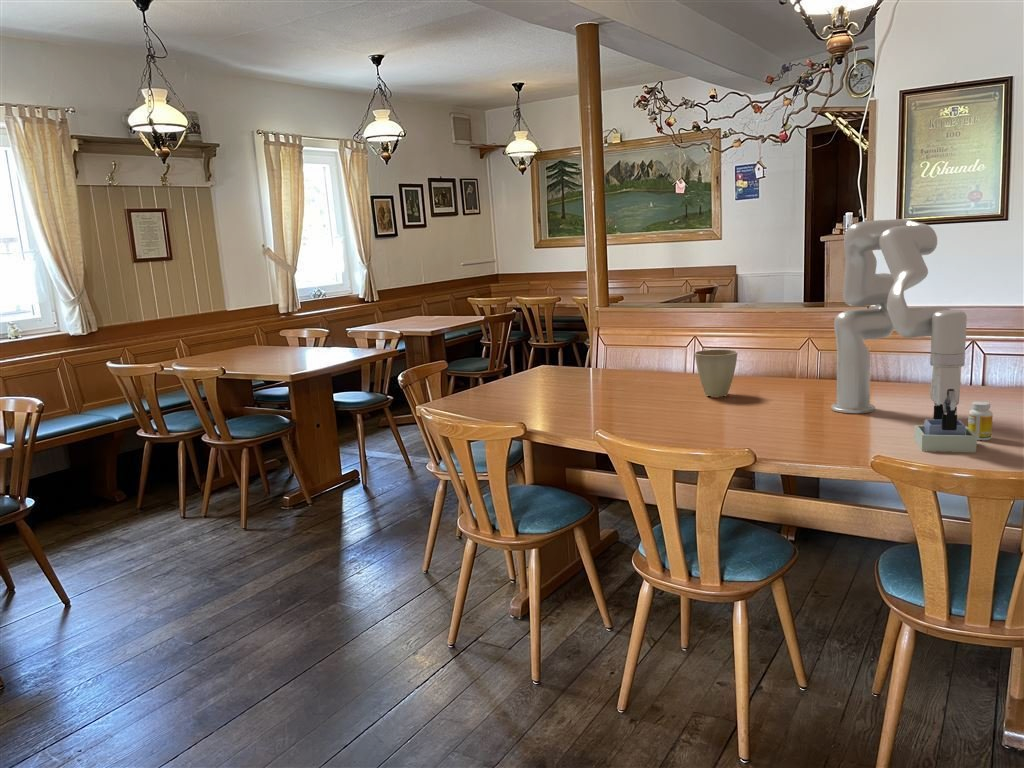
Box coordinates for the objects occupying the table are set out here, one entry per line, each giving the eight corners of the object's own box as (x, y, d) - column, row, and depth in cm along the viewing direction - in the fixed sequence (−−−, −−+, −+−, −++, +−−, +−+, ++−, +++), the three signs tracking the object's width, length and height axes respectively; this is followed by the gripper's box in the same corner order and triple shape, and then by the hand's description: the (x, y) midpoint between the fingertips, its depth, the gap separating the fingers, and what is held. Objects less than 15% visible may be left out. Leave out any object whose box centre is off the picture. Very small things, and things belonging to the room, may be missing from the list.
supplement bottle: (965, 439, 195) (966, 403, 194) (969, 434, 199) (971, 399, 197) (988, 441, 192) (990, 405, 190) (993, 437, 195) (995, 401, 194)
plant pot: (743, 398, 260) (742, 353, 258) (700, 401, 261) (699, 356, 258) (731, 390, 275) (731, 347, 272) (691, 392, 276) (690, 350, 273)
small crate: (924, 441, 195) (924, 419, 194) (958, 442, 192) (959, 419, 191) (928, 448, 189) (929, 425, 188) (964, 448, 187) (965, 425, 185)
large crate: (914, 441, 197) (914, 425, 197) (965, 442, 194) (966, 426, 193) (921, 452, 188) (922, 435, 187) (975, 453, 184) (976, 436, 183)
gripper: (923, 354, 196) (921, 416, 199) (937, 365, 180) (935, 433, 183) (956, 353, 193) (953, 417, 197) (973, 365, 177) (969, 434, 181)
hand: (944, 425), depth 190 cm, fingers open, 9 cm apart
